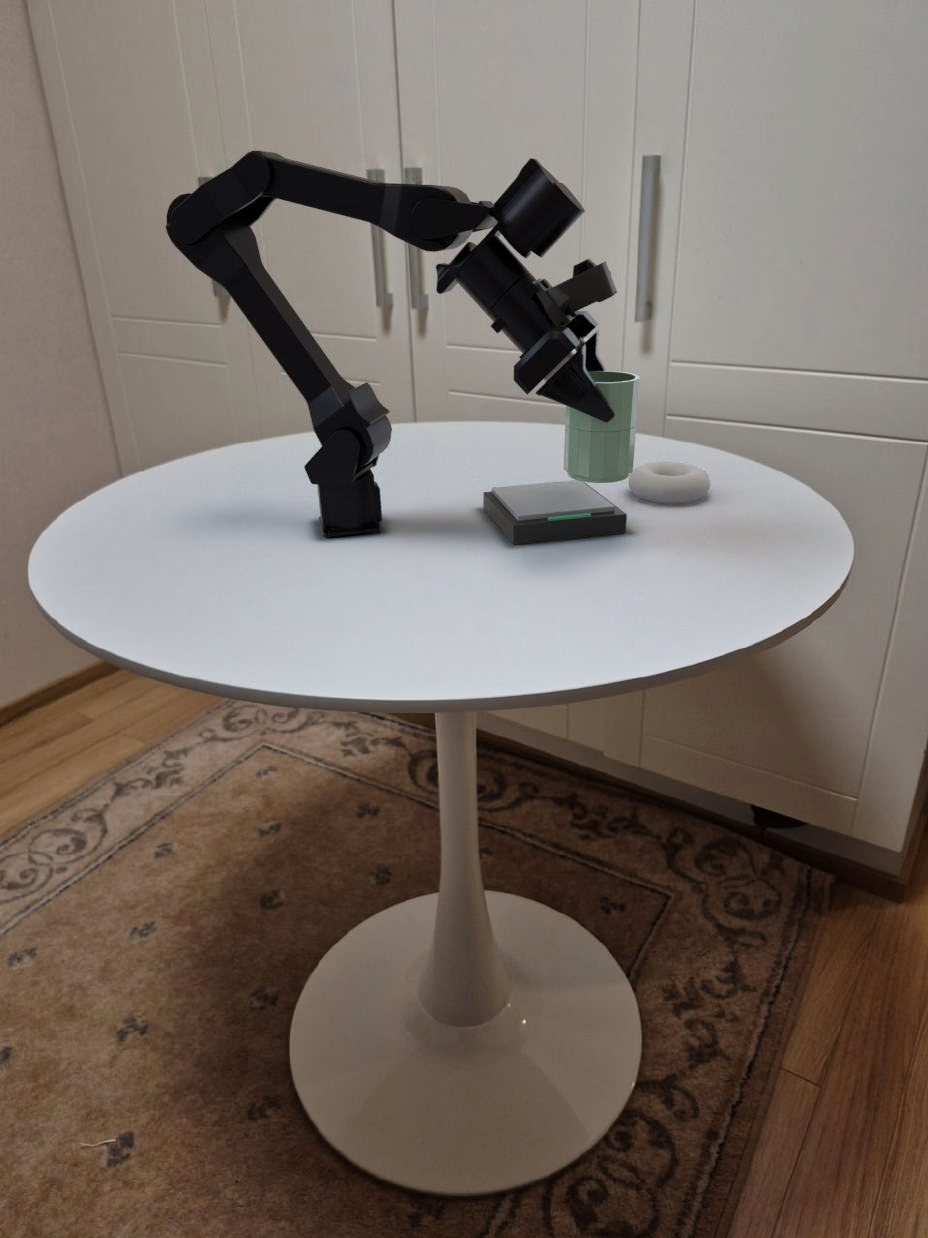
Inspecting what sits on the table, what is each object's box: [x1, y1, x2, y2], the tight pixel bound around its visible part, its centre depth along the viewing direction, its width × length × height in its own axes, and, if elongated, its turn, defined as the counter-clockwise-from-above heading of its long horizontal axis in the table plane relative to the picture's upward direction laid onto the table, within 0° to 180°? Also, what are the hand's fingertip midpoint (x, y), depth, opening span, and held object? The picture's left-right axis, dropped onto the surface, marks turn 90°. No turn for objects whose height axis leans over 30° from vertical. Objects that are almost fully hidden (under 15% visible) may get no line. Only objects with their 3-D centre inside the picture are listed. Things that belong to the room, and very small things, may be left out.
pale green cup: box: [563, 370, 640, 484], centre depth 88 cm, size 7×7×10 cm
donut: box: [628, 461, 711, 505], centre depth 107 cm, size 10×4×10 cm
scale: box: [482, 479, 628, 546], centre depth 99 cm, size 13×13×3 cm
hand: (614, 411), depth 87 cm, fingers closed on pale green cup, 7 cm apart
